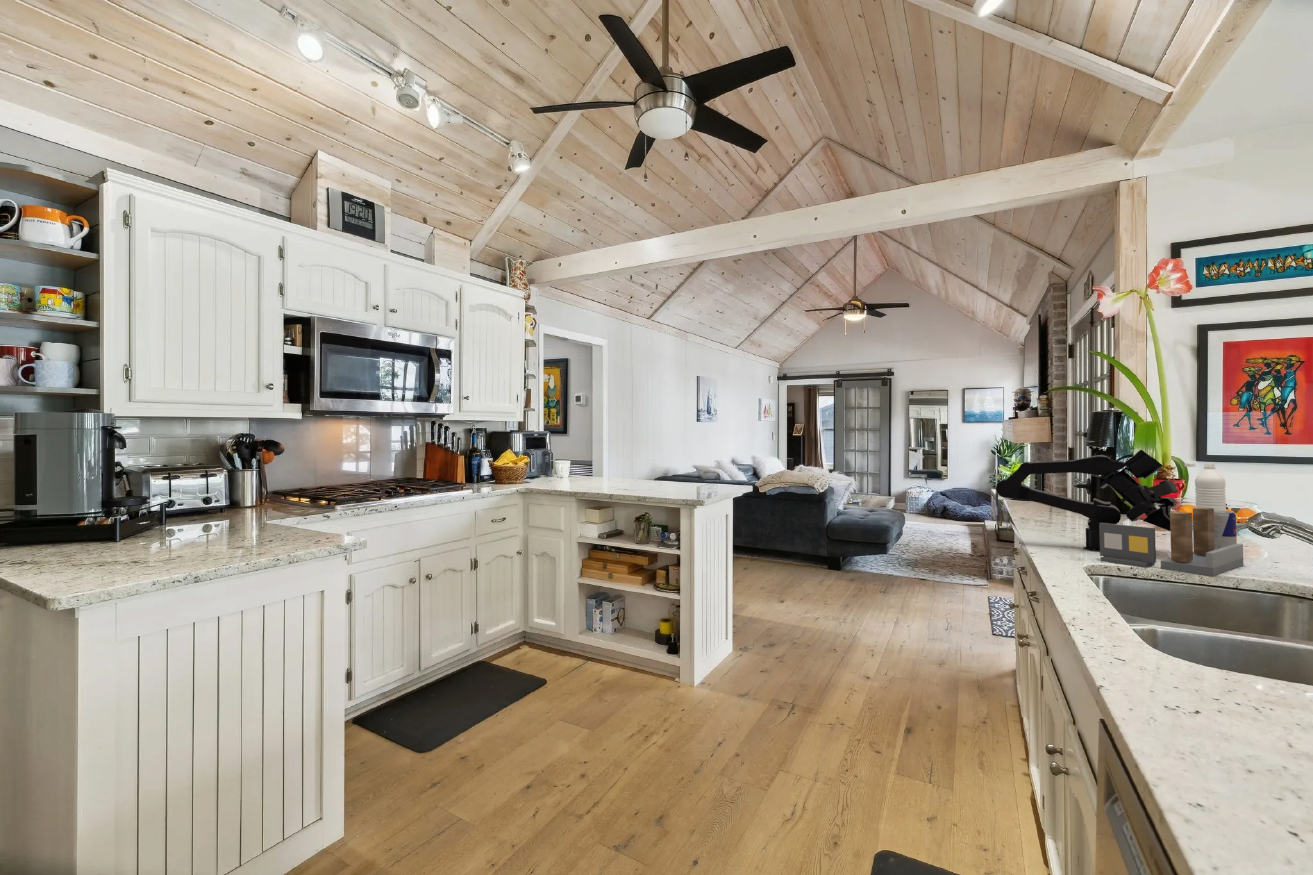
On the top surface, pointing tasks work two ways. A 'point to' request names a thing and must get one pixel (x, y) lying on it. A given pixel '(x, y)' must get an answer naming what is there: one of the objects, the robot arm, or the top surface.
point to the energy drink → (1224, 529)
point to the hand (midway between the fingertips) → (1179, 533)
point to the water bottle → (1209, 488)
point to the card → (1127, 545)
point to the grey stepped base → (1209, 561)
